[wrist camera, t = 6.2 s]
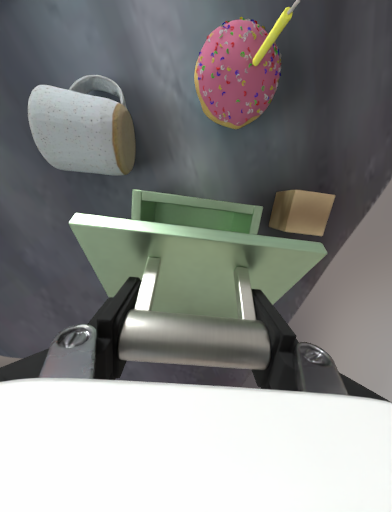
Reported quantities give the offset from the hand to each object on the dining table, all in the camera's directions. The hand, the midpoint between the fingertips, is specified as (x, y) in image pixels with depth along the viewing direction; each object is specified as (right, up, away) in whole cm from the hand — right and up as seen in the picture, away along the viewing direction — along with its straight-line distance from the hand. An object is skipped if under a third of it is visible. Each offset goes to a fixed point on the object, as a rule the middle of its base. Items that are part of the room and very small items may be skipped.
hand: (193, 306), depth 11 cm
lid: (0, 0, +5) cm, 5 cm away
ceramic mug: (-12, +19, +13) cm, 25 cm away
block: (+14, +10, +16) cm, 23 cm away
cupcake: (+4, +22, +12) cm, 26 cm away
